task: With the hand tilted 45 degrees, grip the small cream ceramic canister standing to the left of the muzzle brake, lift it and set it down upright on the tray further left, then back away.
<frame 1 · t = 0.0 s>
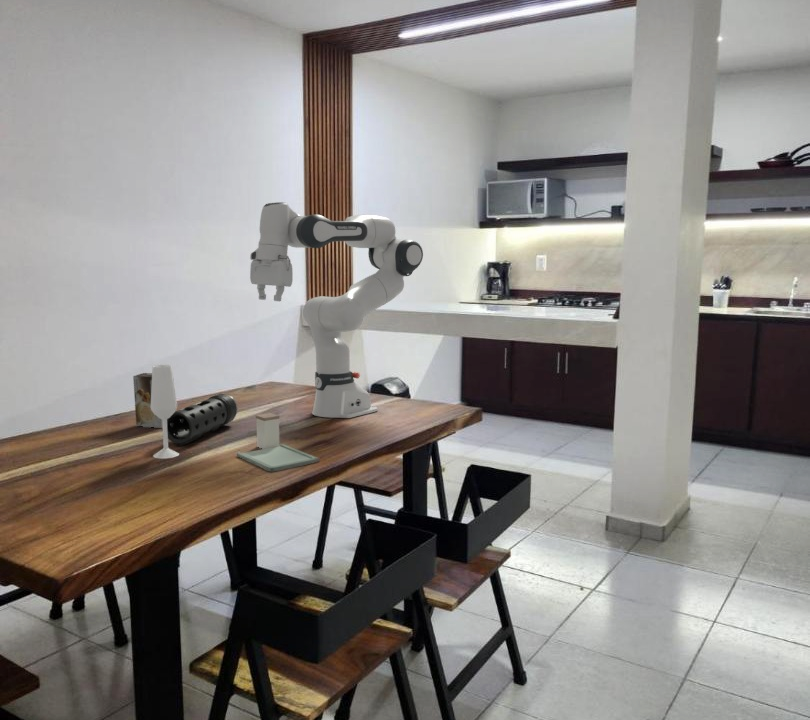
hand: (269, 300, 223), 39 cm above the table, tool pointing down, fingers open, 8 cm apart
muzzle brake: (204, 436, 214), on the table
tray: (277, 459, 189), on the table
champagne flute: (166, 455, 193), on the table
canister: (268, 447, 201), on the table
coffee box: (154, 426, 226), on the table
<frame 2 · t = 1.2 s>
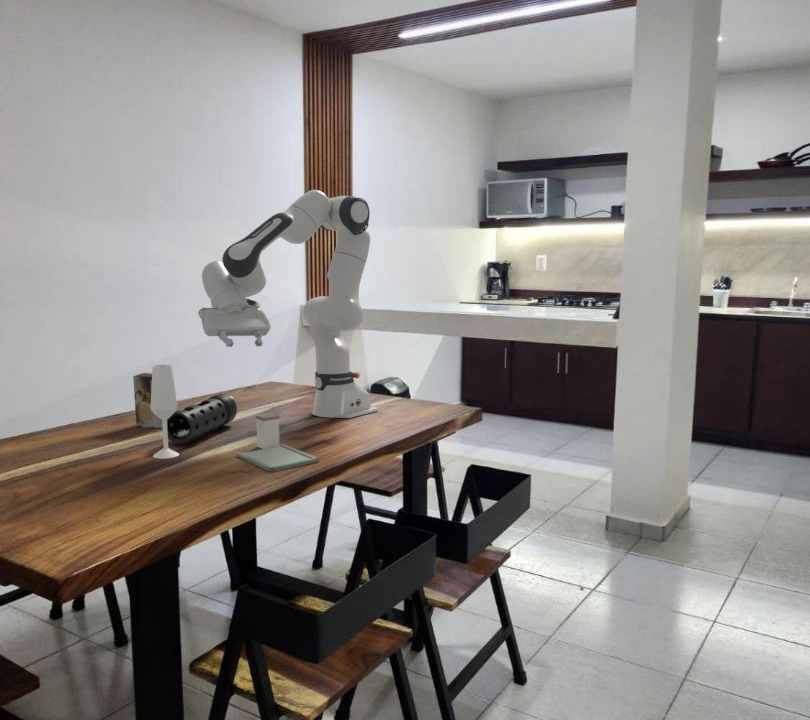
hand: (245, 345, 207), 27 cm above the table, tool tilted 45°, fingers open, 8 cm apart
nothing on the table moved.
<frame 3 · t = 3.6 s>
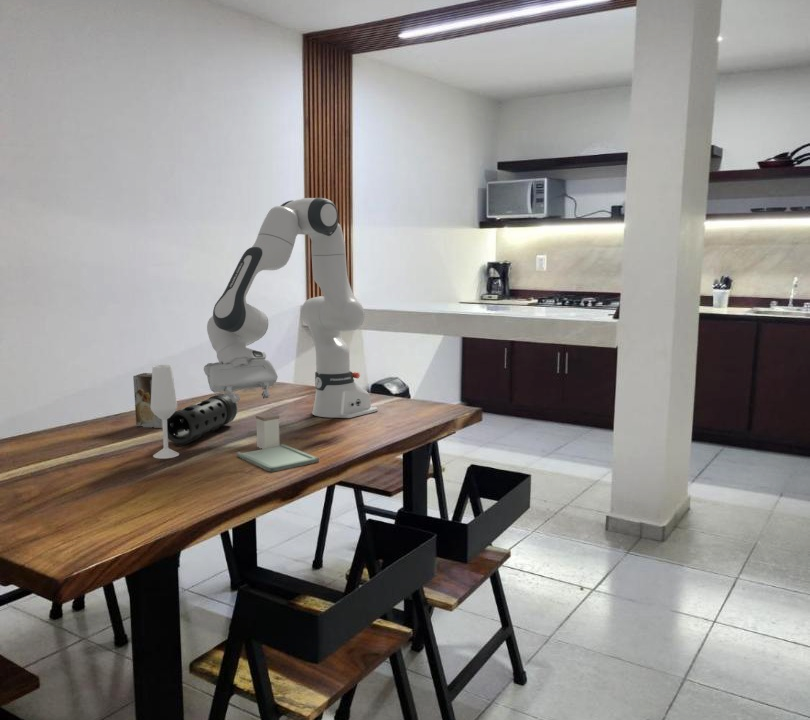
hand: (252, 399, 205), 12 cm above the table, tool tilted 45°, fingers open, 8 cm apart
nothing on the table moved.
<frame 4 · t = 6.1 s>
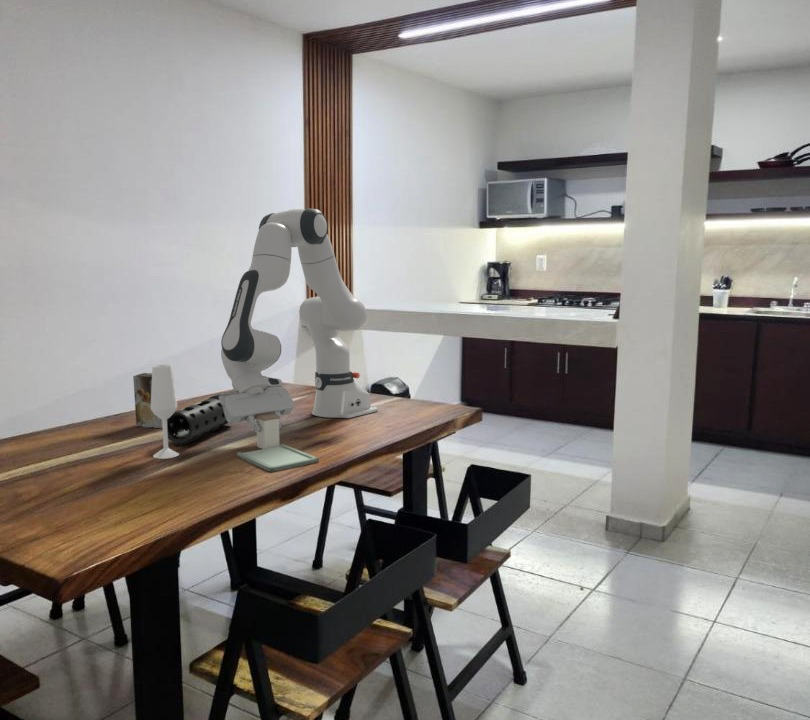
hand: (269, 429, 200), 5 cm above the table, tool tilted 45°, fingers closed on canister, 4 cm apart
canister: (268, 447, 201), on the table, touching gripper
everything else where it was.
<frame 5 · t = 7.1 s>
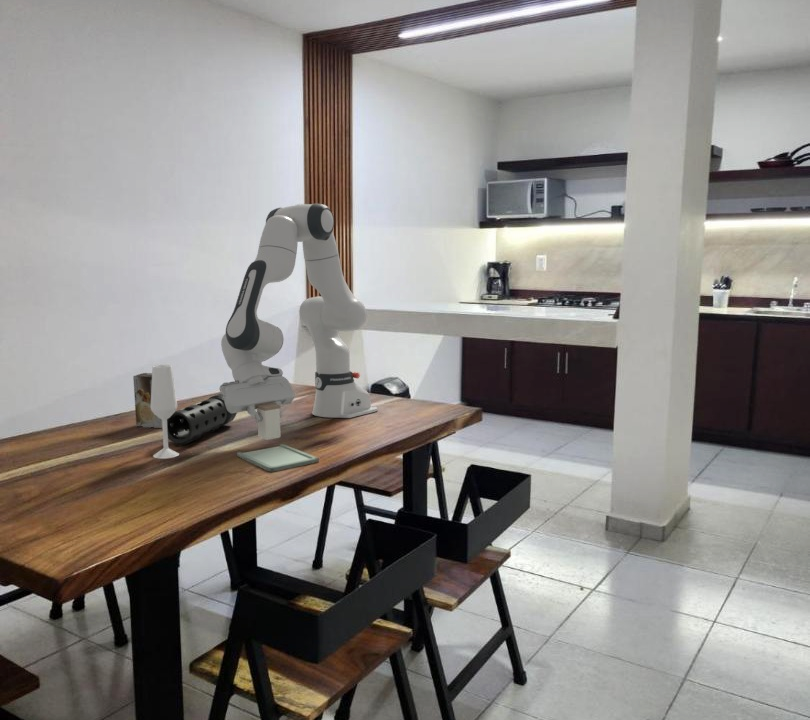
hand: (269, 419, 200), 8 cm above the table, tool tilted 45°, fingers closed on canister, 4 cm apart
canister: (269, 436, 201), point 3 cm above the table, touching gripper
everything else where it was.
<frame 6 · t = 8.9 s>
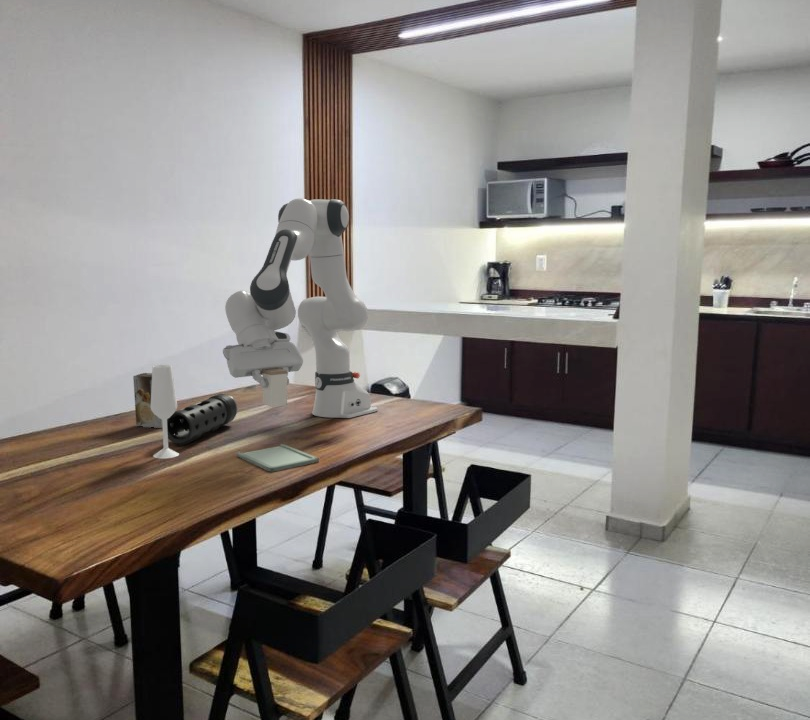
hand: (276, 385, 186), 20 cm above the table, tool tilted 45°, fingers closed on canister, 4 cm apart
canister: (275, 404, 187), point 15 cm above the table, touching gripper
everything else where it was.
when the fingers open (7 cm above the table, at t = 11.6 s): canister drops 2 cm, resting on tray.
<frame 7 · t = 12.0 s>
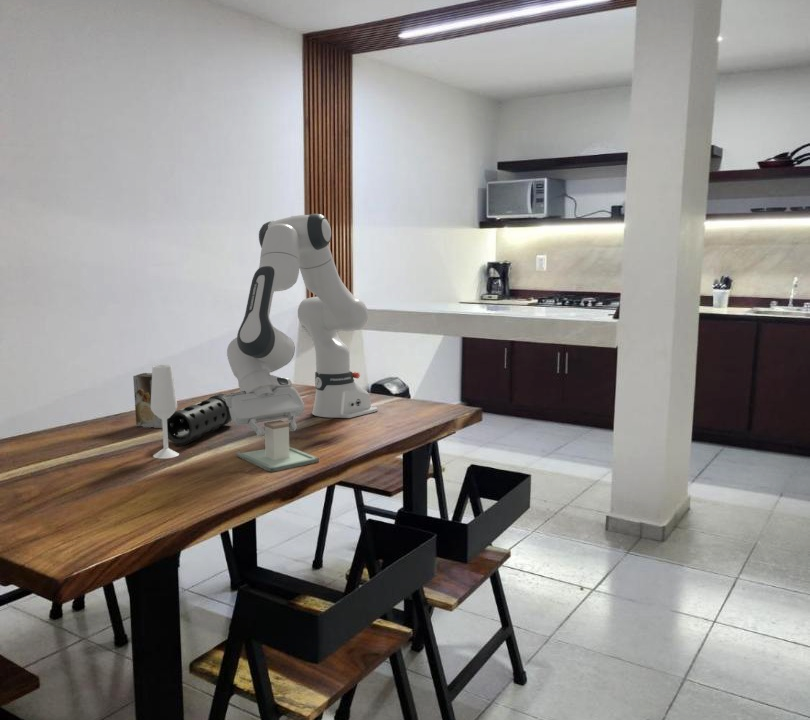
hand: (278, 432, 188), 7 cm above the table, tool tilted 45°, fingers open, 8 cm apart
canister: (277, 456, 189), point 1 cm above the table, touching tray
everything else where it was.
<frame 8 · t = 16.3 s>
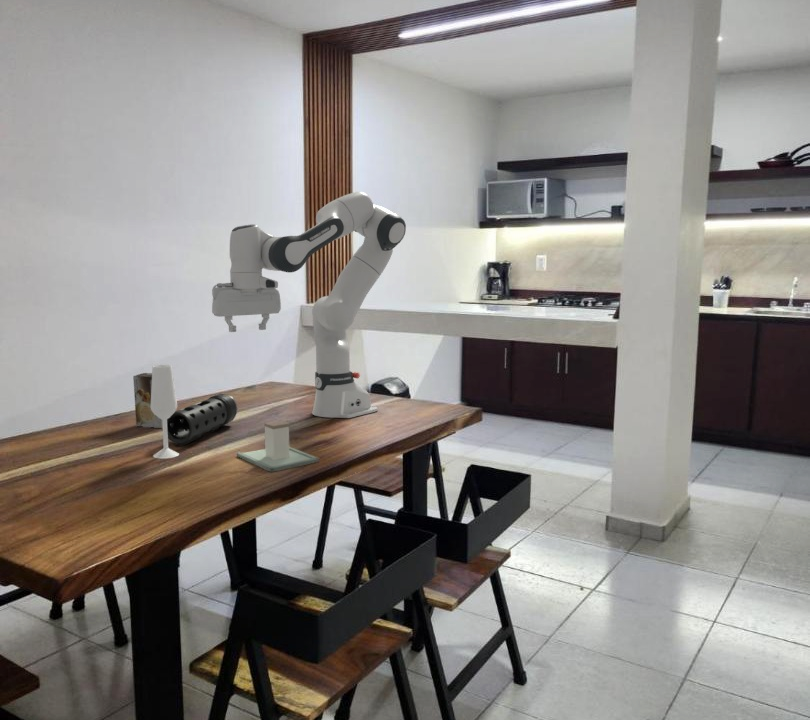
hand: (247, 330, 208), 31 cm above the table, tool pointing down, fingers open, 8 cm apart
nothing on the table moved.
at the end: canister inside the target area on the tray (0.1 cm from its centre), point 0.6 cm above the tray's base; canister tilted 0°; the gripper is holding nothing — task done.
